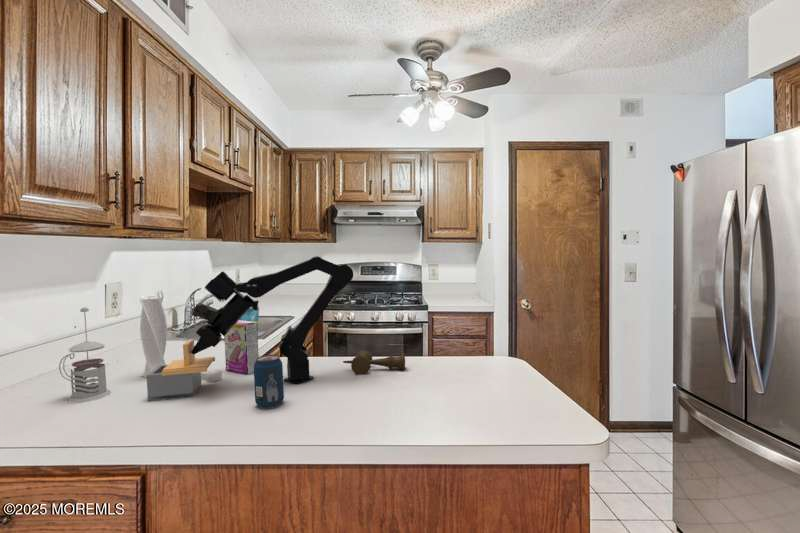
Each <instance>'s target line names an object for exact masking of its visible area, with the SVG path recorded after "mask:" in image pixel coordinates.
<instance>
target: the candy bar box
mask: <svg viewBox="0 0 800 533" xmlns="http://www.w3.org/2000/svg"><path fill="white" fill-rule="evenodd" d="M258 335H259V334H258ZM258 335H257V322H252V321H243V320H238V321H237V323H236V324H235V325H234V326H233V327H232V328H231V329H230V330H229V332H228V333H227V334H226V335H225V336H223V337H224V338H223V339H224V340H223V341H224V354H225V356H224V357H225V371H226V372H227V371H228V372H233V373H238V374H242V373H243V374H244V375H247V374H248V375H252V374H254V364H255V362H256V358H258V357H260V356H259V340H258V337H259V336H258ZM251 373H252V374H251ZM243 374H242V375H243Z"/></svg>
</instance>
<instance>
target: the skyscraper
mask: <svg viewBox="0 0 800 533" xmlns="http://www.w3.org/2000/svg"><path fill="white" fill-rule="evenodd" d="M160 294H161V296H160ZM139 301H140V304H141V306H142V307H141V312H140V320H139V322H140V324H139V326H140V327H139V329H140V330H139V331H140V332H139V333H140V341H141V345H142V349H143V350H142V351H143V354H144V356H145V360H146V362H145V367H144V370H143V371H144V372H143V375H141V376H140V377H141V378H144V379H145V378H146V379H147V375H148V374H149V373H150V372H151V371H153V370H154V369H155V368H156V367H157V366H159V365H167V364H166V361H165V359H164V357H165V352H166V348H167V340H168V339H167V338H168V326H167V318H166V314H165V310H164V307H163V301H164V293H163V291H162V290H158V291H157V293H156V294H150V295H147V297H146V296H145V295H142V296H140V297H139Z"/></svg>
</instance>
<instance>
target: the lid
mask: <svg viewBox="0 0 800 533" xmlns="http://www.w3.org/2000/svg"><path fill="white" fill-rule="evenodd" d="M194 346H195V339H194V338H191V339H188V340H187V341H186V342H184V343H183V344H182V349H183V350H182V351H183V359H174V360H172V361H171V362H170V363H168V364H166V365H167V366H166V367H165V368H164V369H163V371H162V376H166V375H177V374H187V373H197V372H208V368H210V366H211V364H212V363H213V362H215V361H216V357H215V356H209V357H197V358H196V354H192V353H191V351H192V350H193V348H194Z"/></svg>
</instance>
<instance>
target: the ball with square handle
mask: <svg viewBox="0 0 800 533" xmlns="http://www.w3.org/2000/svg"><path fill="white" fill-rule="evenodd" d="M202 380H203V381H206V382H207V383H215V381H216V382H219V380H220V381H221V380H223V370H222V369H212V370H209V371H208V370H207V372H201V381H202Z"/></svg>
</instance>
